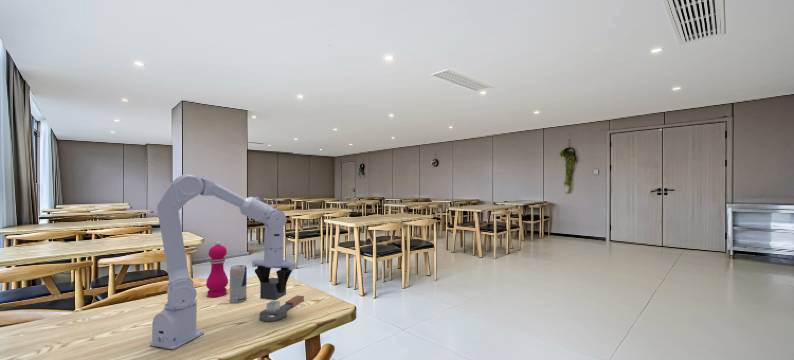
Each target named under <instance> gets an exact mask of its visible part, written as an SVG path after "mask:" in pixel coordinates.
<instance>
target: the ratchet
mask: <svg viewBox="0 0 794 360" xmlns="http://www.w3.org/2000/svg"><path fill="white" fill-rule="evenodd" d="M304 301H305V295H294V296H293V297H291V298H290V299H288V300H287V301H285V303H284V304H282V305H281V301H279V300H270V301H269V302H267V303H266V309H263V310H261V311H260V312H259V321H261V322H263V323H269V324H270V323H277V322H280V321H283V320H285V319H286V318H287V315H288V311H289V310H291V309H292V308H295V307H297V306H299V305H300V304H301V303H303V302H304Z"/></svg>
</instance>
